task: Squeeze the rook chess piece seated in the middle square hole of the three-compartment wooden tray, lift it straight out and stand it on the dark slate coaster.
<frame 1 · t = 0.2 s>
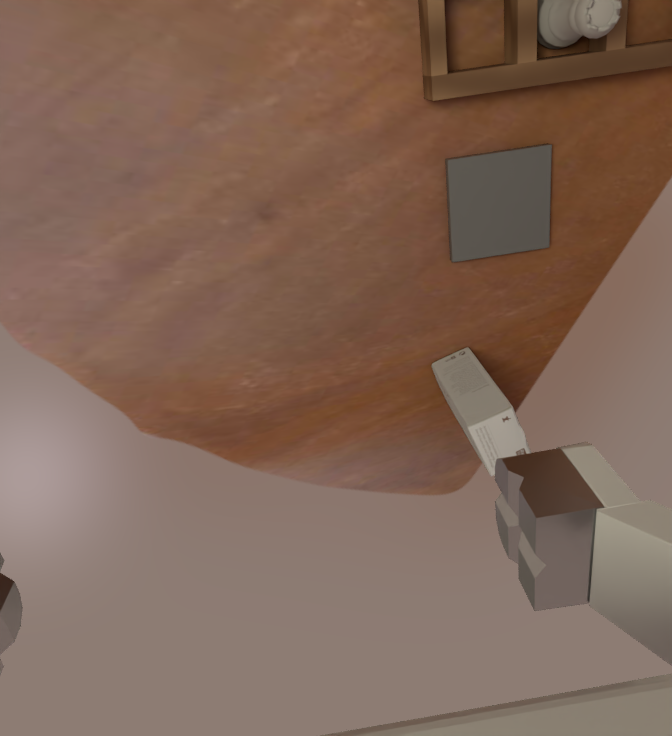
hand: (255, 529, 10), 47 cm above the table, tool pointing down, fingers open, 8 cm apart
rook chess piece: (555, 17, 51), resting in three-compartment wooden tray
three-compartment wooden tray: (556, 17, 51), on the table
coaster: (497, 203, 57), on the table
skincare box: (460, 377, 64), on the table
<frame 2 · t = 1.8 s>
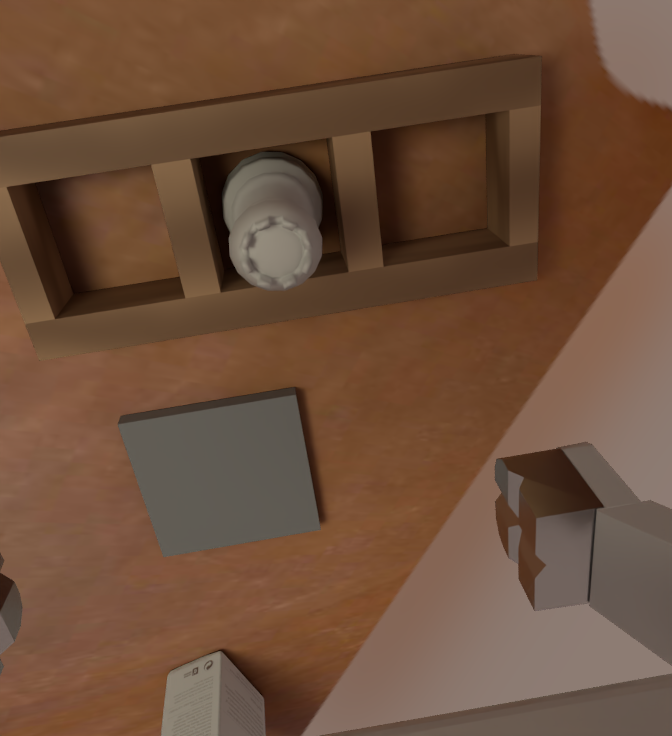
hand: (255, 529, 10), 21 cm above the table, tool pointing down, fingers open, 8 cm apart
rook chess piece: (272, 200, 29), resting in three-compartment wooden tray
three-compartment wooden tray: (272, 201, 28), on the table
coaster: (226, 471, 35), on the table
skincare box: (220, 681, 43), on the table
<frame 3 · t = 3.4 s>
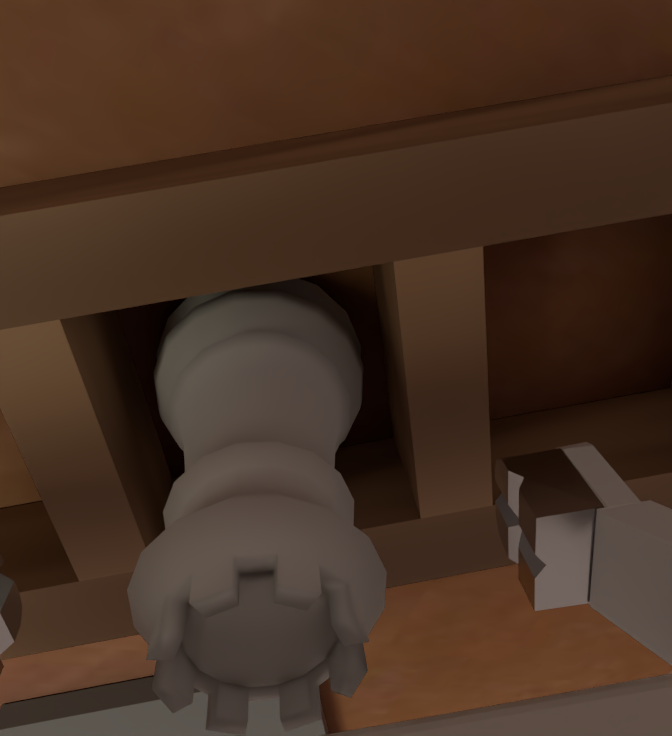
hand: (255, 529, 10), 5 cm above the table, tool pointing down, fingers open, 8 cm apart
rook chess piece: (261, 354, 15), resting in three-compartment wooden tray
three-compartment wooden tray: (261, 358, 14), on the table
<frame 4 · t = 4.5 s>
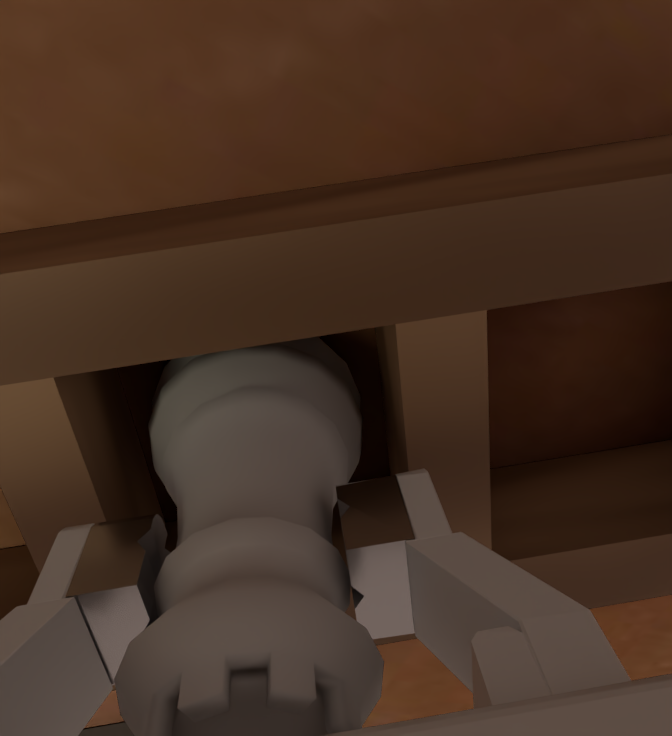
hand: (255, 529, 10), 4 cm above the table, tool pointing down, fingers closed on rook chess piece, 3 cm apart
rook chess piece: (258, 401, 14), resting in three-compartment wooden tray, touching gripper
three-compartment wooden tray: (258, 405, 14), on the table
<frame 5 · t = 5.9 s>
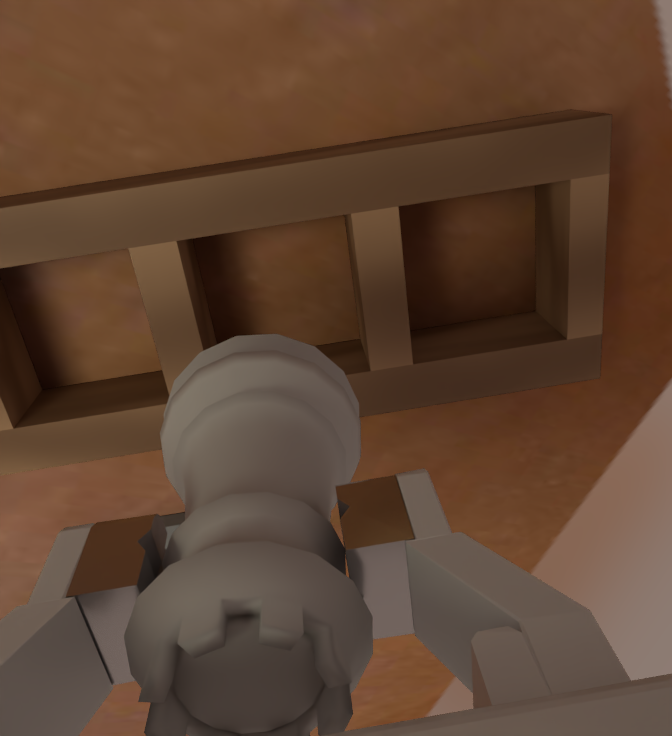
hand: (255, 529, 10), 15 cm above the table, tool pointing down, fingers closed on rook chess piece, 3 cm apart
rook chess piece: (264, 413, 15), point 10 cm above the table, touching gripper
three-compartment wooden tray: (278, 283, 24), on the table
coaster: (224, 587, 30), on the table
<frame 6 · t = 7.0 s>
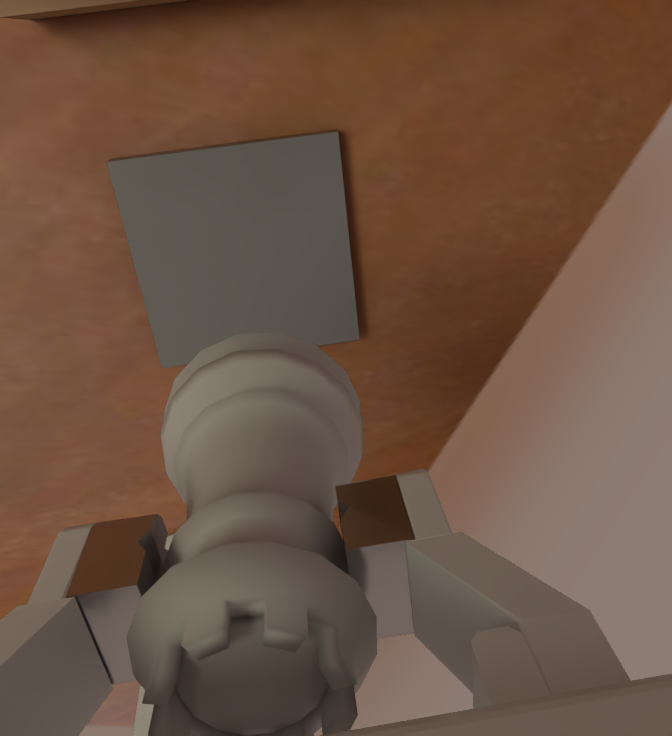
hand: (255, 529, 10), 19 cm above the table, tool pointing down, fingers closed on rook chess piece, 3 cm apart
rook chess piece: (264, 412, 15), point 14 cm above the table, touching gripper
coaster: (244, 252, 27), on the table
skincare box: (226, 556, 35), on the table
when the fingers open (7 cm above the table, at t = 9.9 s): rook chess piece drops 1 cm, resting on coaster.
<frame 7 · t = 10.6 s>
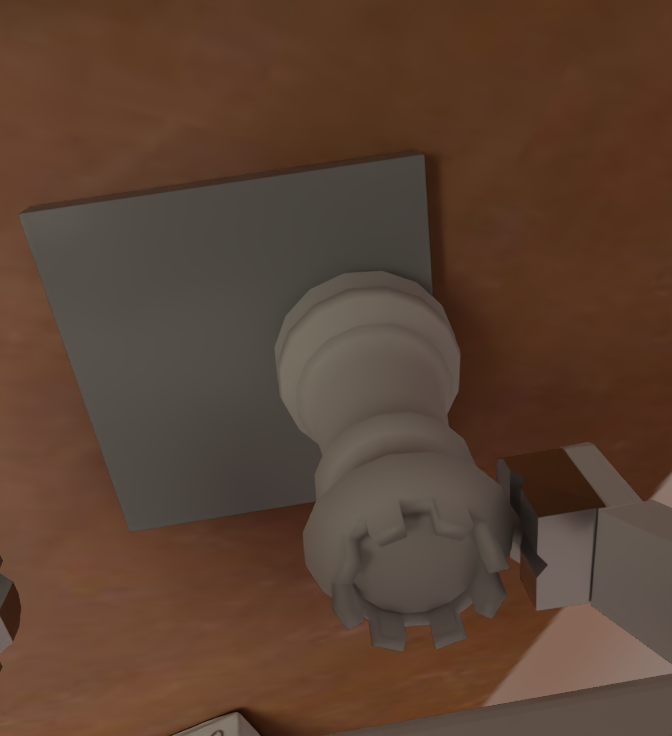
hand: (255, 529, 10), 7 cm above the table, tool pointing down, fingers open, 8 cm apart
rook chess piece: (362, 346, 16), point 1 cm above the table, touching coaster, gripper
coaster: (260, 352, 17), on the table
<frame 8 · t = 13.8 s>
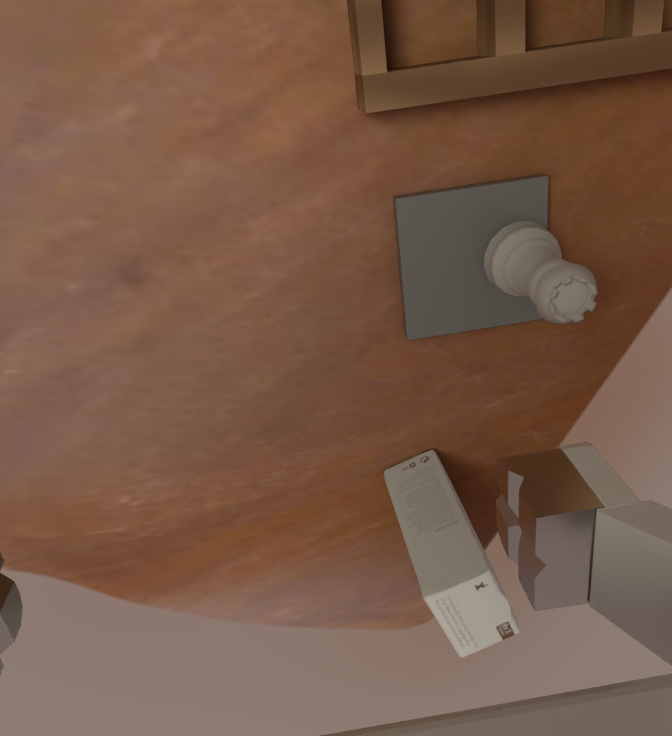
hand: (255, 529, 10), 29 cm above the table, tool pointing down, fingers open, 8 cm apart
rook chess piece: (515, 254, 39), point 1 cm above the table, touching coaster
coaster: (470, 258, 39), on the table
skincare box: (424, 486, 47), on the table
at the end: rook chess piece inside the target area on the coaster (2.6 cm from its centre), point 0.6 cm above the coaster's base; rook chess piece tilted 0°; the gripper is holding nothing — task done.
